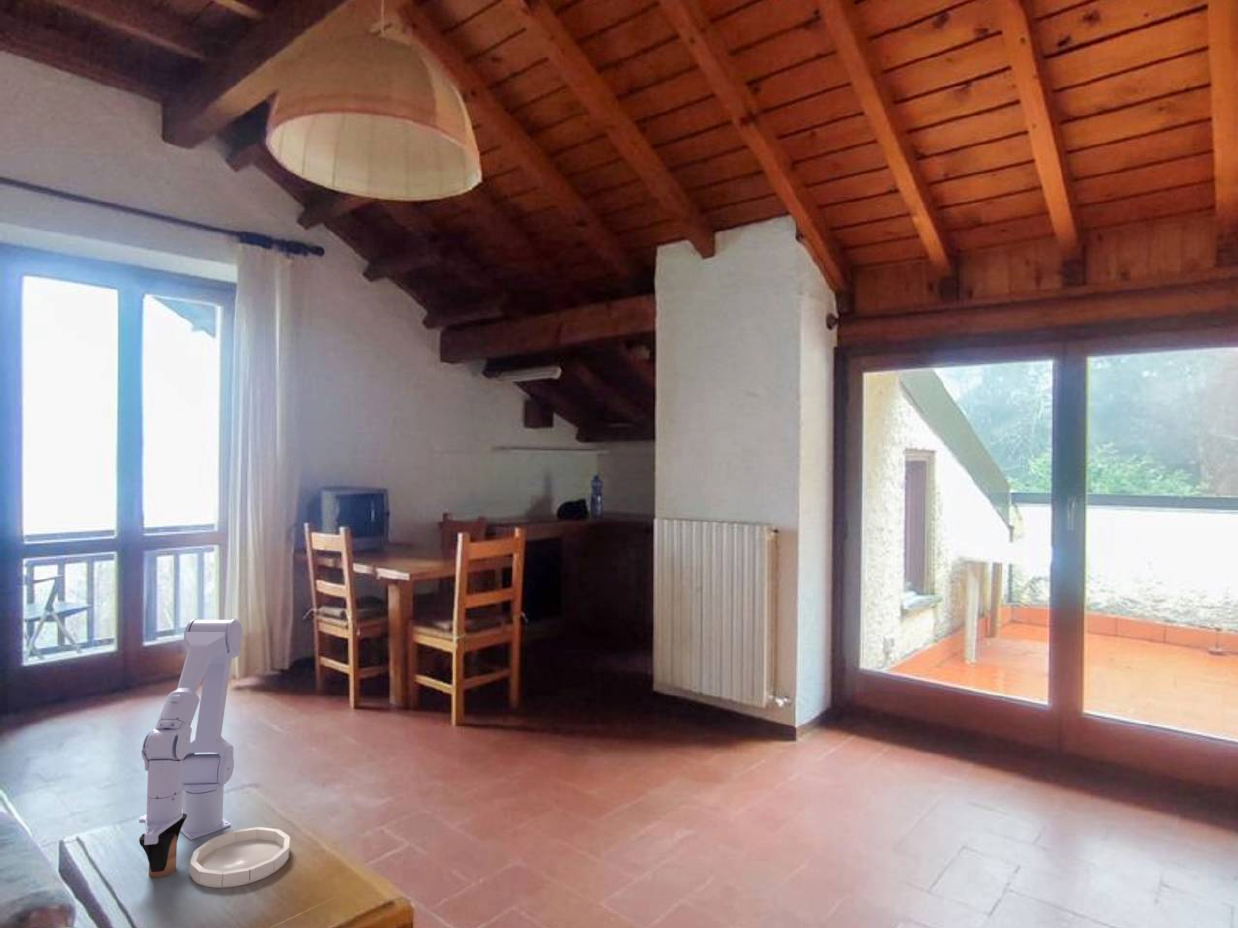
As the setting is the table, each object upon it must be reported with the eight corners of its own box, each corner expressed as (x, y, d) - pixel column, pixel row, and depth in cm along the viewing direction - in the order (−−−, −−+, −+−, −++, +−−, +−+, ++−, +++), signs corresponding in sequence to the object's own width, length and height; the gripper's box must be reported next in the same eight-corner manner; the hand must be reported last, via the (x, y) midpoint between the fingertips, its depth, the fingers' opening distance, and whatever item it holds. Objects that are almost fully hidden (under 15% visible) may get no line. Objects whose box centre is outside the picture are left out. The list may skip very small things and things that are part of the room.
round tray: (175, 864, 140) (176, 850, 140) (264, 831, 153) (264, 819, 153) (214, 899, 130) (214, 884, 130) (305, 860, 143) (305, 847, 143)
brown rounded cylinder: (145, 871, 137) (146, 839, 138) (170, 862, 141) (171, 831, 141) (153, 880, 135) (154, 847, 135) (179, 870, 138) (180, 838, 138)
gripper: (154, 777, 144) (152, 846, 144) (126, 811, 130) (123, 887, 130) (194, 774, 146) (192, 842, 146) (170, 807, 132) (168, 882, 132)
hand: (162, 863), depth 138 cm, fingers closed on brown rounded cylinder, 4 cm apart
